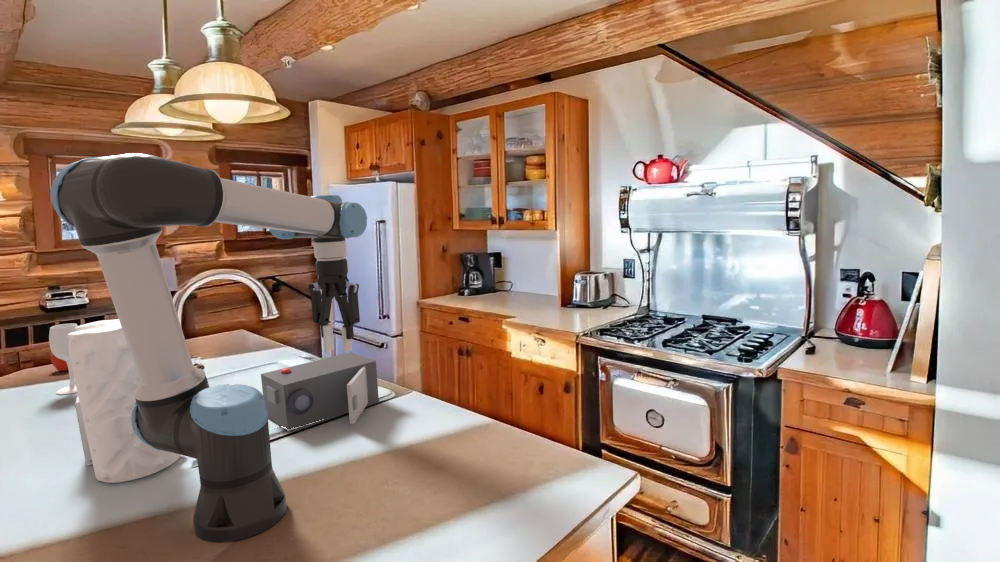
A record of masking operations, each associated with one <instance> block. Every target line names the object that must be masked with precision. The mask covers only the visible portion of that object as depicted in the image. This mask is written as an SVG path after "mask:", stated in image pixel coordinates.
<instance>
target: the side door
mask: <svg viewBox="0 0 1000 562" xmlns="http://www.w3.org/2000/svg"><path fill="white" fill-rule="evenodd" d="M347 395H348V407H349V412H348V416H349V417H348V418H349V419H348V420H349V424H350V425H354V424H355V423H356V422H357V420H358V418H359V417H360V416H361V414H362V413H363V411H364V410H365V409H366V405H367V404H368V402H369V399H368V386H367V373H366V366H363V367H362V368H361V369H360V370H359V371H358V372H357V374H356V375H355V376H354V377H353V378H352V380H351V381H350V382H349V383H348V384H347Z"/></svg>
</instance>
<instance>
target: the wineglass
mask: <svg viewBox="0 0 1000 562" xmlns="http://www.w3.org/2000/svg"><path fill="white" fill-rule="evenodd" d="M77 326H78V324H77V323H76V322H75V323H74V322H73V323H72V322H71V323H62V324H57V325H52V326H51V327H49V334H48V343H49V348H50V349H49V350H50V351H51V354H52V353H53V355H54V356H56V357H57V358H59V359H62V360H64V361H66V362H67V365H68V369H69V370H68V375H69V385H68V386H65V387H62V388H60V389H59V390H57V391H56V394H57V395H60V396H61V395H72V394H76V393H77V388H76V383H75V379H74V374H73V369H72V361H71V357H70V355H69V351H68V347H69V341H70V340H69V337H68V334H69V333H72V332H76V331H75V329H74V328H75V327H77ZM77 394H78V393H77Z"/></svg>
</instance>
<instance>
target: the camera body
mask: <svg viewBox="0 0 1000 562" xmlns="http://www.w3.org/2000/svg"><path fill="white" fill-rule="evenodd" d="M363 366H366V373H367V386H368V399H369V402H368V404H367V405H366V407H369V406H372V405H376V404H378V403H380V401H379V388H378V385H379V384H378V374H377V360H374V359H371V358H368V357H365V356H362V355H359V354H356V353H353V352H351V351H350V352H348V353H343V354H338V355H333V356H330V357H325V358H321V359H318V360H317V359H316V360H313V361H308V362H306V363H305V362H304V363H300V364H295V365H292V366H288V367H284V368H280V369H276V370H271V371H267V372H262V373H260V377H261V378H260V379H261V381H260V382H261V386H262V388H261V389H262V395H263V396H264V399H265V404H266V409H267V411H268V421H270V422H272V423H273V424H274V425H276V426H278V427H280V428H281V426H283V427H286V428H287V429H291V428H293V427H294V428H295V427H299V426H303V425H306V424H309V423H312V422H316V421H319V420H322V419H327V418H330V419H332V418H335V417H339V416H341V415H345V414H349V407H348V395H347V384H348V383H349V382H350V381H351V380H352V378H353V377H354V376H355V375H356V374H357V372H358V371H359V370H360V369H361V368H362V367H363ZM366 407H365V408H366ZM327 420H328V419H327Z"/></svg>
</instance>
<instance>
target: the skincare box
mask: <svg viewBox="0 0 1000 562" xmlns="http://www.w3.org/2000/svg"><path fill="white" fill-rule="evenodd" d="M75 400H76V401H75V403H74V406H75V407H74V408H75V411H76V412H75V413H76V417H77V424H78V429H79V435H80V440H81V445H82V451H83V455H84V460H85V461H84V462H85V466H92V465H93V462H92V458H91V453H90V448H89V444H88V439H87V435H86V430H85V425H84V421H83V416H82V411H81V406H80V402H79V397H78V395H77V397H76V398H75Z"/></svg>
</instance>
